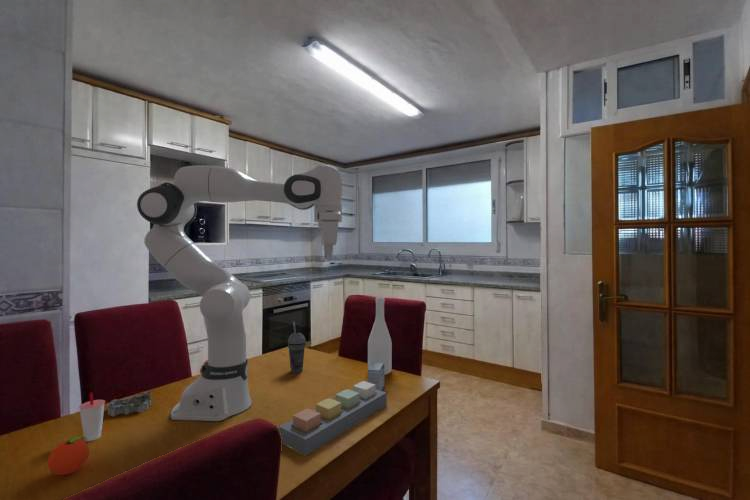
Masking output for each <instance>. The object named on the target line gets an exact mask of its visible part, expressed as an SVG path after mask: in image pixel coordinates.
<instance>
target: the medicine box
mask: <svg viewBox="0 0 750 500" xmlns="http://www.w3.org/2000/svg"><path fill="white" fill-rule="evenodd" d="M367 382H368V383H372V384H375V385H376V389H377V390H380V391H383V390H384V389H385V375H384V363H372V365H371V367H370V368H369V370H368V369H367ZM383 392H384V391H383Z"/></svg>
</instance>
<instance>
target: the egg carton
mask: <svg viewBox="0 0 750 500" xmlns="http://www.w3.org/2000/svg"><path fill="white" fill-rule="evenodd" d="M151 396H152V391H151V390H150V391H144V392H141V393H140V394H139V395H137V394H136V395H135V394H134V396H131V397H129V396H128V397H124V398H120V399H119V398H118V399H113V400H111V401H110V402H109V403H108V404H107V405H106V407H107V416H112V417H116V416H118V415H121V413H122V414H123V413H124V415H130V414H132V413H135V412H137V413H138V414H139V413H140V414H141V413H143V412H145V411H148V410H149V406H151V405H152V397H151ZM131 412H132V413H131ZM129 413H130V414H129Z"/></svg>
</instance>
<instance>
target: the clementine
mask: <svg viewBox="0 0 750 500" xmlns="http://www.w3.org/2000/svg"><path fill="white" fill-rule="evenodd" d="M81 438H83V439H84V438H85V439H86V440H87V438H86V437H84V436H75V437H73V438H72V437H71V438H70V439H67V440H65V441H63V442H61V443H59V444H58V445H57V446H55V448H54V449H53V450H52V451H51V453H50V454H49V457H48V459H47V466H48V469H49V470H50V472H51V473H53V474H55V475H57V476H58V475H59V476H66V475H71V474H72V473H74V472H77V471H78V470H79V469H80V468H82V466H84V464H85V463H86V462H87V460H88V458H89V455H90V447H89V445H88V444H87V442H86V441H84V440H83V439H81Z"/></svg>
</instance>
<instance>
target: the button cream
mask: <svg viewBox="0 0 750 500" xmlns="http://www.w3.org/2000/svg"><path fill="white" fill-rule="evenodd" d="M352 386H353V387H352V390H353V391H354V392H357V393H359V397H360V398H363V399H368V398H370V397H372V396H373V395H375V394H376V385H375V384H372V383H368V381H366V380H365V381H364V380H362V381H360V382H358V383H356V384H354V385H352Z"/></svg>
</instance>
